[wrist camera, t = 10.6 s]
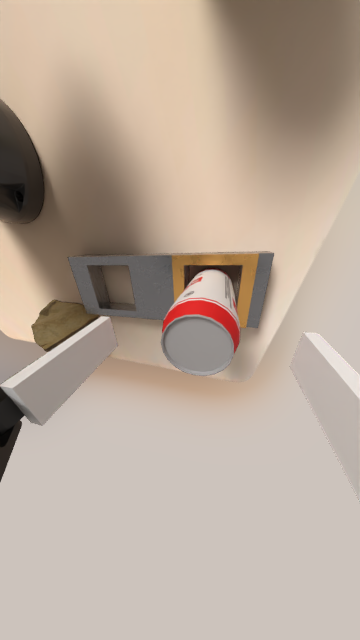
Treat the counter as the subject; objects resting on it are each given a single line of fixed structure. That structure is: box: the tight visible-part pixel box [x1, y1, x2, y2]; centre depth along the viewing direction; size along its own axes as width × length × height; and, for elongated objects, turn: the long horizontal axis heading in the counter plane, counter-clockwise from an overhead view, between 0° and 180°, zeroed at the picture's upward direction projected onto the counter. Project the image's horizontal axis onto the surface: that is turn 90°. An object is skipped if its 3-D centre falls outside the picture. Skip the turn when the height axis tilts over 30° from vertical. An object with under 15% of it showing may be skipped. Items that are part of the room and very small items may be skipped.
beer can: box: [161, 268, 240, 376], centre depth 18 cm, size 6×6×16 cm
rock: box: [31, 300, 99, 352], centre depth 31 cm, size 11×9×10 cm
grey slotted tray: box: [68, 251, 274, 328], centre depth 25 cm, size 30×10×3 cm, turn 92°
